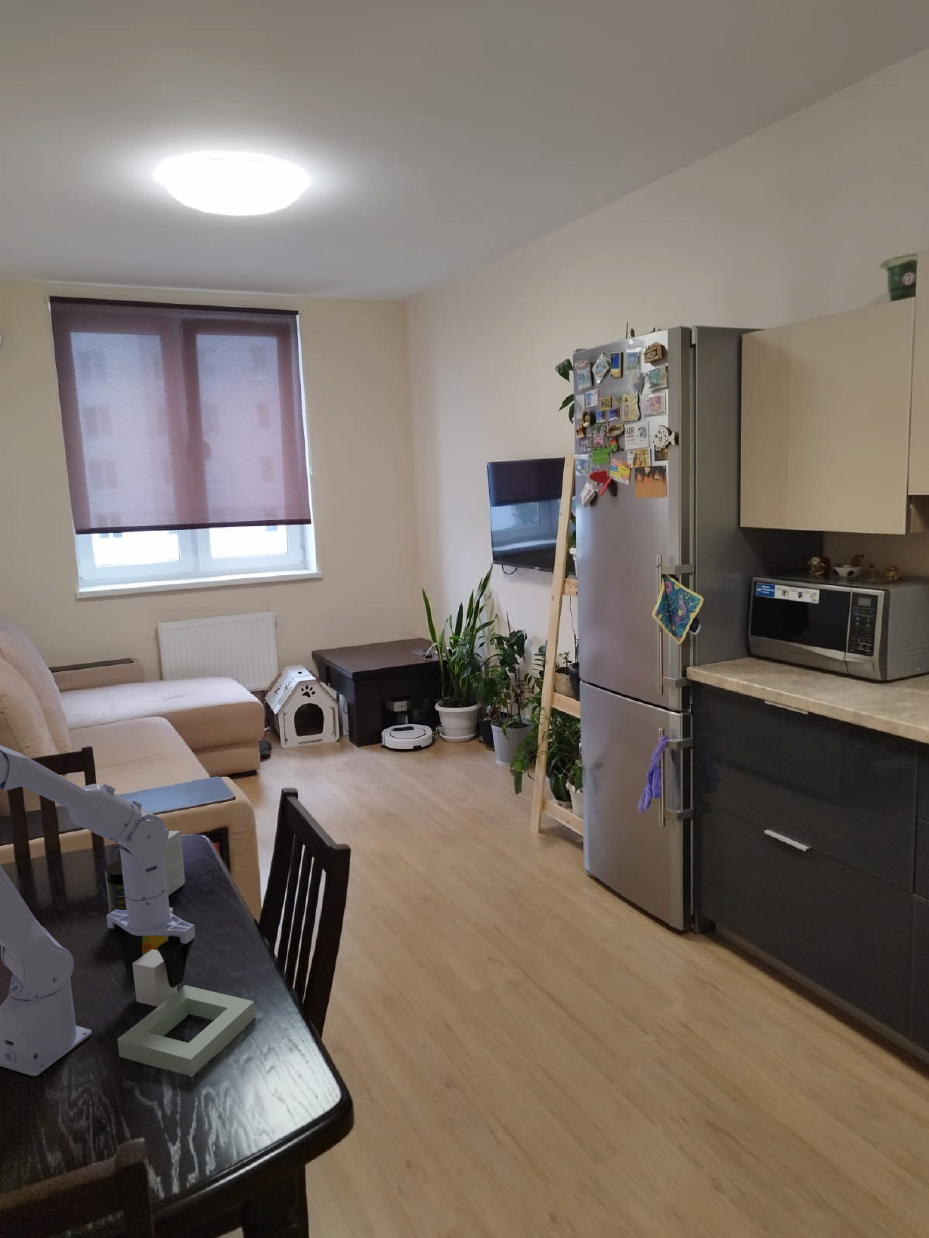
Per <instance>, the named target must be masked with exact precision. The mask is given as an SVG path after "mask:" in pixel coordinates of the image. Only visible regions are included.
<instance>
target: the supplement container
mask: <svg viewBox="0 0 929 1238" xmlns="http://www.w3.org/2000/svg"><path fill="white" fill-rule="evenodd" d="M104 873H105V874H104V875H105V881H106V890H107V891H106V892H107V900H108V908H109V914H110V913H111V912H113V911H114V910H116V909H117V910H127V909H126V900H125V891H124V882H123V874H122V862H121V858H120V859H117V860H114V861H113V862H110V863H109V864H107V866H106V867H105V868H104Z"/></svg>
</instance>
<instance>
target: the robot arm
mask: <svg viewBox="0 0 929 1238" xmlns="http://www.w3.org/2000/svg"><path fill="white" fill-rule="evenodd" d="M16 788H24V789H26V790H28V791H30V792H33V793H35V794H37V795H39V796H41V797H43V798H45V799H48V800H50V801H52V802H54V803H57V804H58V805H61V806H62V807H65V808H66V809H67V810H68V813H69V814H68V815H69V819H70V821H71V822H72V823H73V824H75V825H77V826H79V827H82V828H84V829H85V830H87V831H89V832H92V833H94V834H96V835H97V836H100V837H102V838H104V839H106V840H108V841H110V842H113V843H115V844H117V845H120V847H119V852H120V859H121V862H122V874H123V882H124V891H125V900H126V909H127V910H117V909H116V910H114V911H113V912H111V913H110V912H109V913H108V914H107V915H106V918H105V919H106V925H107V928H108V929H113V930H112V932H111V933H109V934H108V935H107V938H106V940H107V943H109V944H110V945H111V947H112V948H113V949H114V950H115V951H116V953H117V954H118V956H119V958H120V960H121V962H122V964H123V967H124V969H125V971H126V973H127V975H128V978H131V979H134V973H133V964H132V963H134V962H135V961H136V960H138V959H139V958H141V957H142V956H143V955H142V940H143V936H155V935H160V936H165V937H168V941H166V942H164V943H163V944H161V945H160V946H159V947H157V949H158V951H159V953H160V954H161V956H162V958H163V961H164V963H165V967H166V971H167V978H168V982H169V985H170V987H173V988H174V987H176V986H177V985H178V984H179V985H180V983H182V982H183V981H184V976H185V970H186V964H187V959H188V955H189V953H190V950H191V948H192V946H193V944H194V942H195V939H196V937H197V936H196V931H195V929H196V928H195V924H192V923H189V922H187V921H185V920H183V919H181V918H180V917H178V916H176V915H175V914H174V909H173V907H170V901H169V896H168V890H167V880H166V871H165V862H164V855H163V848H164V846H165V844H166V842H167V840H168V837H169V831H170V830H169V829H167V827H166V824H164V823H165V822H164V820H163V819H162V818H161V817H159V816H157V815H156V814H154V813H152V812H150V811H148V810H147V809H145V808H143V804H142V803H140V802H139V801H137V800H135V799H134V800H133V801H129V800H128V799H126V798H125V797H122V796H120V795H118V794H116V793H115V792H116V788H115V787H113V786H111V785H110V784H108V783H103V784H102V785H100V784H97V783H91V784H88V785H85V786H79V785H78V784H76V783H74V782H72V781H71V780H69V779H67V778H65V777H63V776H61V775H60V774H58V773H56V771H52V770H51V769H49V768H48V767H46V766H45V765H42V764H41V763H39V762H37V761H35V760H33V759H32V758H30V757H28V756H27V755H25V754H22V753H21V752H19V751H16V750H13V749H11V748H8V747H5V746H3V745H0V790H1V791H3V792H6V791H9V790H13V789H16ZM0 957H1V961H2V963H3V965H4V966H5V968H7V969H8V970H10V972H12V976H11V979H10V983H9V987H8V988H9V993H8V995H7V997H6V998H5V1000H4V1001H3V1003H2V1004H0V1067H2V1068H6V1069H8V1070H12V1071H15V1072H18V1073H22V1074H25V1075H28V1076H32V1077H36V1076H39V1075H40V1074H41V1073H43V1072H44V1071H46V1069H48V1068H49V1067H51V1066H52V1065H53V1064H54V1063H56V1062H57V1061H58V1060H60V1059H61V1058H62V1057H64V1056H65V1055H66V1054H68V1053H69V1052H71V1050H73V1049H75V1047H78V1045H80V1043H81V1044H82V1042H83V1041H85V1040H86V1039H87V1038H89V1037H90V1036H91V1035H92V1034H93V1031H92V1029H90V1028H85V1027H82V1026H79V1025H77V1024H76V1023H77V1022H76V1018H75V1017H76V1014H75V1008H74V999H73V998H74V997H73V991H72V983H71V976H72V974H73V972H74V967H75V962H74V957H73V954H72V953H71V952H70V951H69V950H68V949H67V948H65V947H63V946H62V945H61V944H60V943H59V942H58V941H57V940H56V939H55V938H54V937H53V936H52V935H51V933H50V932H49V931H48V929H47V928H45V927H44V926H42V925H41V924H40V922H39V921H38V920H37V919H36V917H35V916H34V915H33V913H32V911H31V910H30V908H29V906H28V905H27V903H26V902H25V901H24V898H23V897H22V895H21V894H20V893H19V891H18V889H17V888H16V886H15V885H14V883H13V882H12V881H11V879H10V878H9V876H8V874H7V873H6V872H5V870H4V868H3V867H2V865H1V864H0Z"/></svg>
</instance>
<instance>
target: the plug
mask: <svg viewBox="0 0 929 1238" xmlns="http://www.w3.org/2000/svg"><path fill="white" fill-rule="evenodd" d="M132 964H133V973H134V977H133V980H134V982H133V983H134V990H135V998H136V1002H137V1003H140V1004H145V1005H149V1006H151V1007H152V1006H153V1007H156V1006H157V1007H158V1006H160V1005H161V1004H162V1003H164V1002H165V1001H166V1000H167V999H169V998H170V997H171V996H172V995H173V994H175V993H176V992H177V991H178V988H179V987H180V984H178V985H177V986H176V987H174V988H173V987H170V985H169V982H168V978H167V971H166V967H165V963H164V961H163V958H162V956H161V954H160V953H159V951H158V950H153V949H152V950H151V951H149V952H148V953H146V954H145V955H143V956H142V957H141V958H139V959H138V960H136V961H135V962H134V963H132ZM178 986H179V987H178ZM157 1007H156V1008H157Z"/></svg>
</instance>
